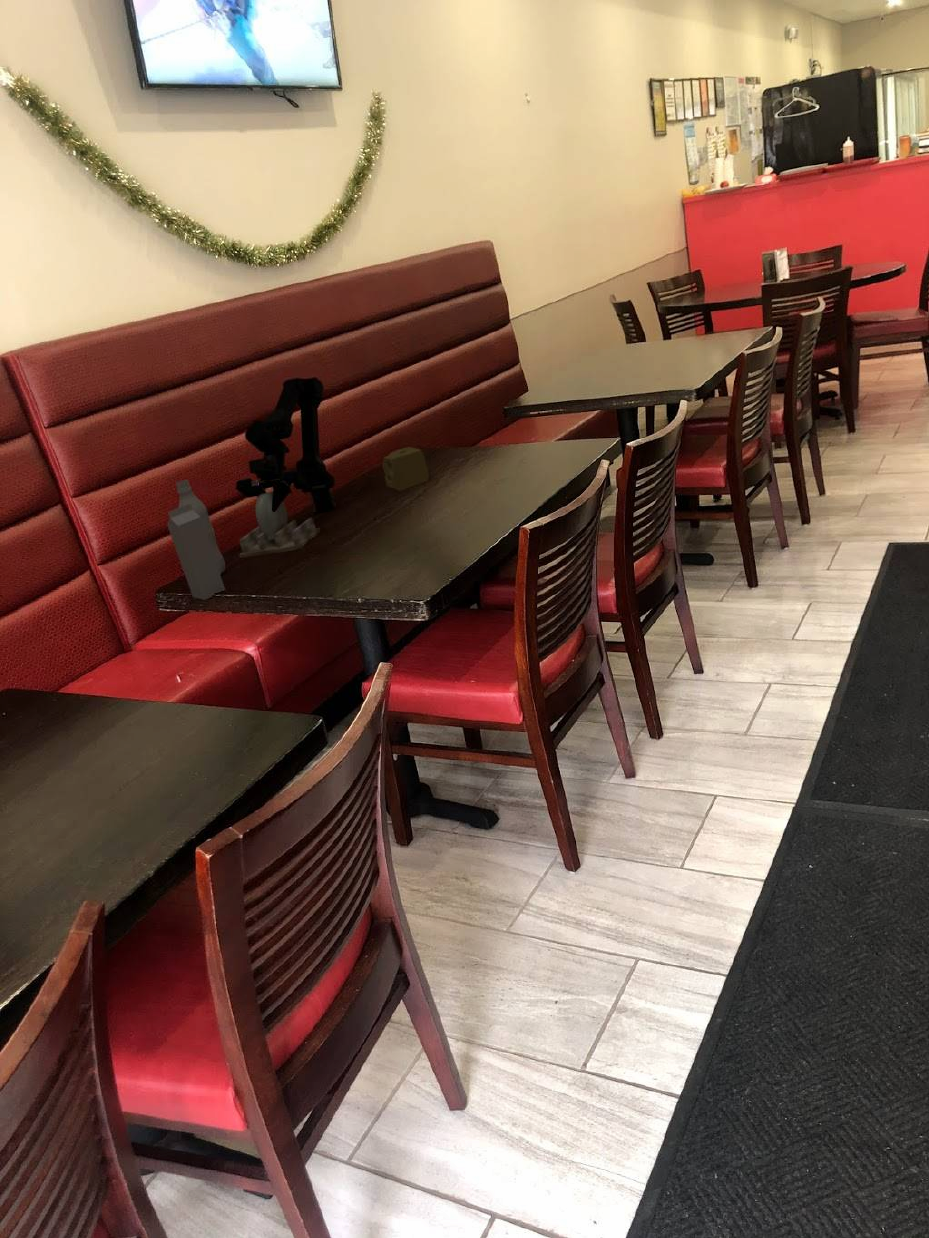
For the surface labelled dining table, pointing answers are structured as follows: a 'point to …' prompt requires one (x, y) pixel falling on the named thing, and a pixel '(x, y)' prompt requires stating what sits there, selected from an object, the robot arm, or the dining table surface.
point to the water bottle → (201, 510)
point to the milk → (194, 552)
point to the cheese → (405, 468)
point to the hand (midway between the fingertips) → (268, 512)
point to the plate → (270, 515)
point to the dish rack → (278, 539)
